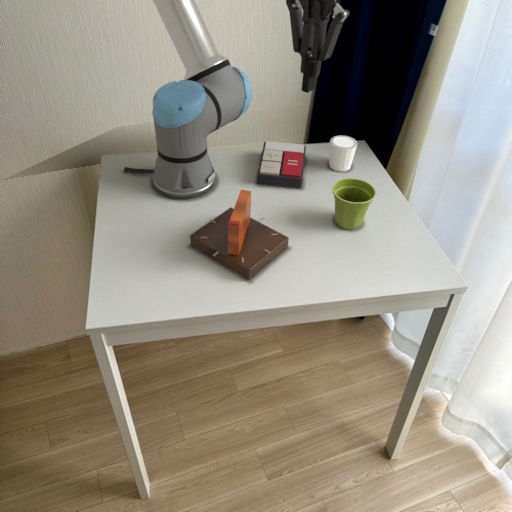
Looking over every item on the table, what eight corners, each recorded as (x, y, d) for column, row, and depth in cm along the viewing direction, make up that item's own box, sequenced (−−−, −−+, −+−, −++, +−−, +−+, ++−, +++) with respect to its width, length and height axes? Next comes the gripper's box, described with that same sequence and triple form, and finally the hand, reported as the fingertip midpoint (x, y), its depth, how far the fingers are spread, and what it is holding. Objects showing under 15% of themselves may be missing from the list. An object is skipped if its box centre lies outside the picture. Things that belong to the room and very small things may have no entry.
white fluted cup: (354, 160, 138) (358, 137, 133) (351, 174, 133) (356, 150, 128) (328, 156, 139) (331, 133, 134) (325, 170, 134) (328, 146, 129)
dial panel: (184, 249, 109) (184, 238, 107) (234, 214, 119) (235, 203, 117) (244, 285, 102) (244, 274, 100) (292, 244, 112) (293, 233, 110)
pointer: (240, 218, 113) (240, 188, 108) (250, 219, 113) (251, 190, 108) (227, 254, 104) (227, 223, 99) (238, 255, 104) (239, 225, 99)
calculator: (257, 172, 126) (264, 138, 136) (256, 186, 129) (263, 152, 139) (302, 176, 125) (306, 142, 135) (301, 190, 128) (304, 156, 138)
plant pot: (367, 237, 114) (375, 205, 109) (325, 230, 116) (330, 199, 110) (369, 212, 121) (377, 181, 115) (329, 206, 122) (334, 175, 117)
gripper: (279, -41, 93) (272, 86, 109) (342, -27, 87) (324, 105, 103) (303, -48, 97) (293, 75, 113) (364, -35, 92) (344, 93, 107)
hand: (308, 89), depth 108 cm, fingers closed
